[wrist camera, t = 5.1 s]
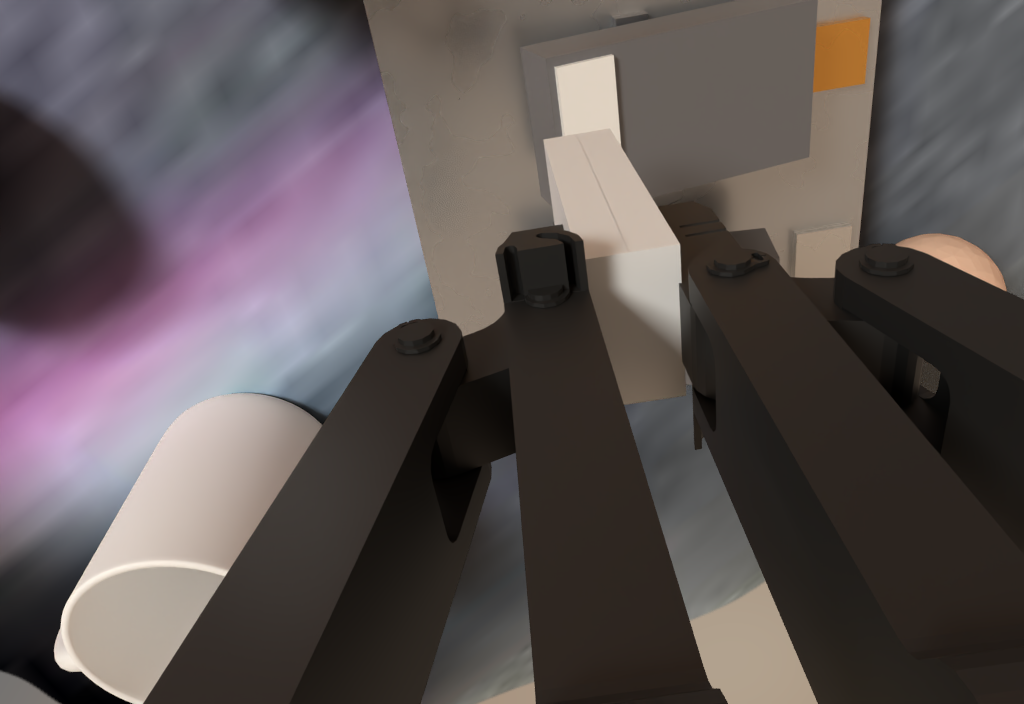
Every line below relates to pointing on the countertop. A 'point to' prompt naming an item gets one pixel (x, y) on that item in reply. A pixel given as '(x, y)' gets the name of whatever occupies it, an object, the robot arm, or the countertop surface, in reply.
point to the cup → (178, 537)
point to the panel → (510, 149)
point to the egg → (958, 255)
